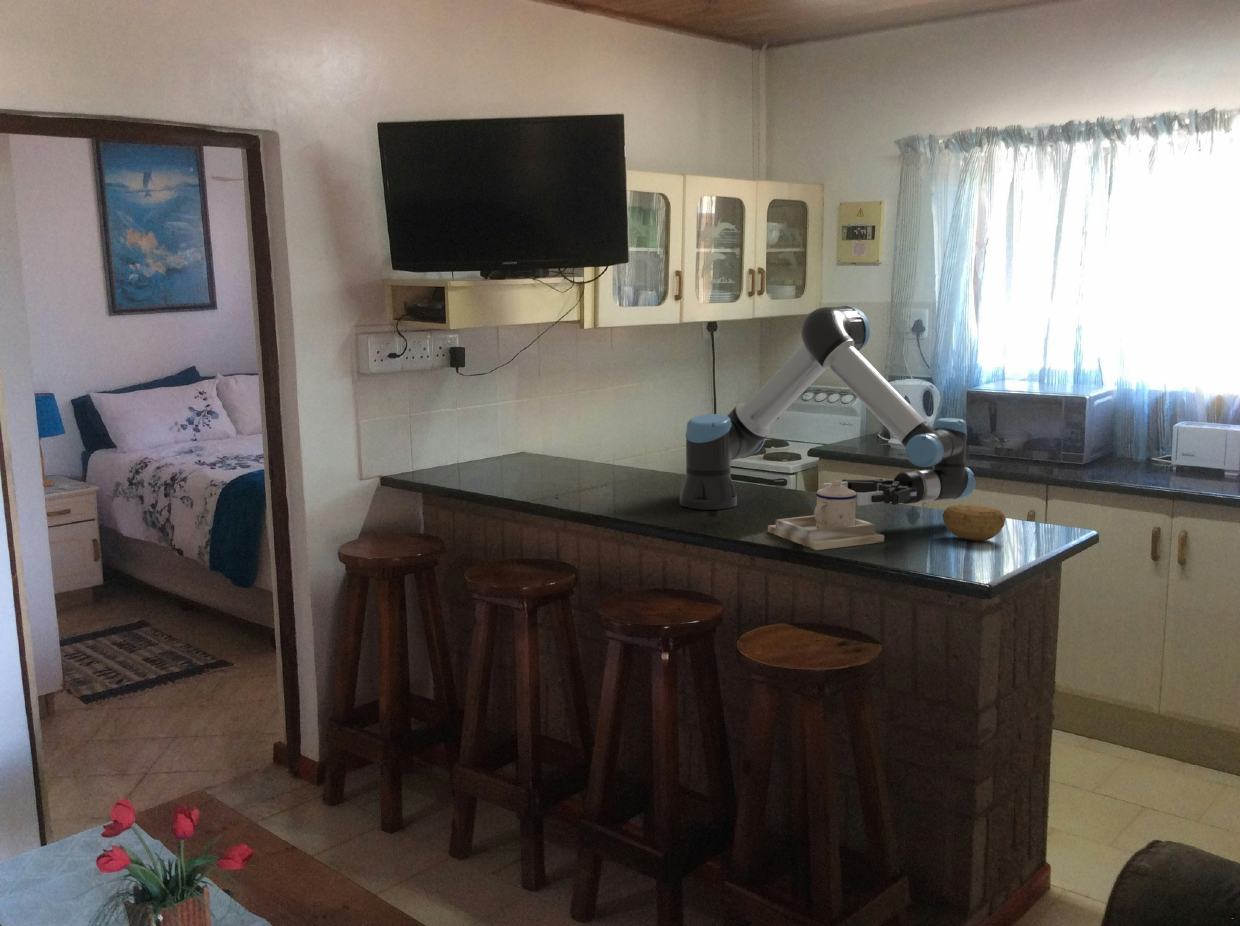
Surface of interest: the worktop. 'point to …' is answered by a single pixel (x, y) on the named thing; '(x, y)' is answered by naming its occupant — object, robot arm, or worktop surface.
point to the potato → (974, 521)
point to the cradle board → (825, 533)
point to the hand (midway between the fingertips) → (840, 494)
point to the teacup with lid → (835, 506)
